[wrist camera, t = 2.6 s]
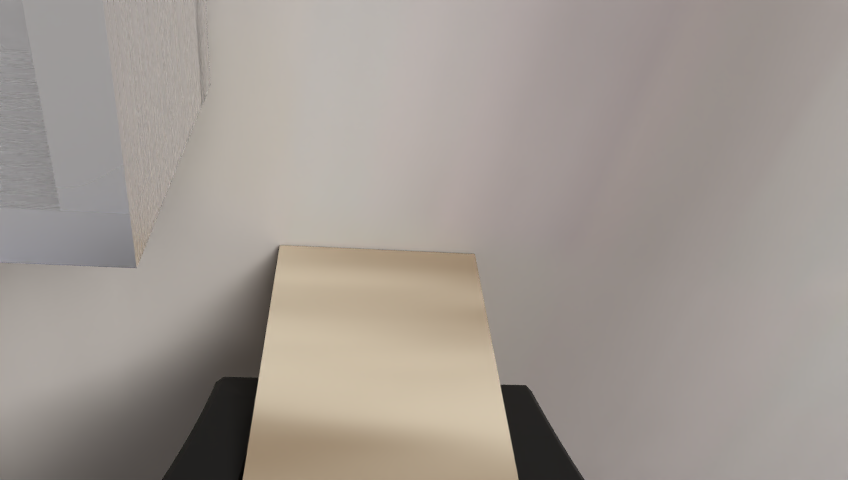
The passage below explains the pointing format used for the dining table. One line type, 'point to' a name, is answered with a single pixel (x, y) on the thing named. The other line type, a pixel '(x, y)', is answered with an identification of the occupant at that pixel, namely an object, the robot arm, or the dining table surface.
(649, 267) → the dining table surface
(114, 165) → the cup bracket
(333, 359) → the rail end
